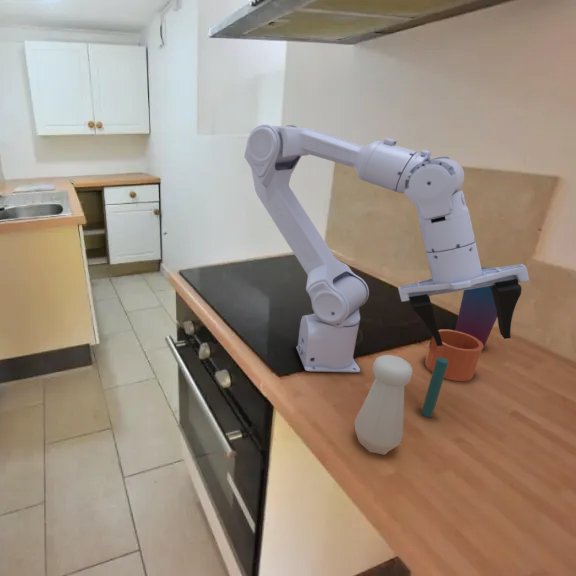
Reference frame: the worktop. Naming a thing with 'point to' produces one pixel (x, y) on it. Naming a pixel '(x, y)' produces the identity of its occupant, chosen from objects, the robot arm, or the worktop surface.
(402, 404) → the salt shaker
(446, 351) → the orange round pot
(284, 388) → the worktop surface
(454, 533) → the worktop surface
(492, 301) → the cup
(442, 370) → the straw
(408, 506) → the worktop surface
